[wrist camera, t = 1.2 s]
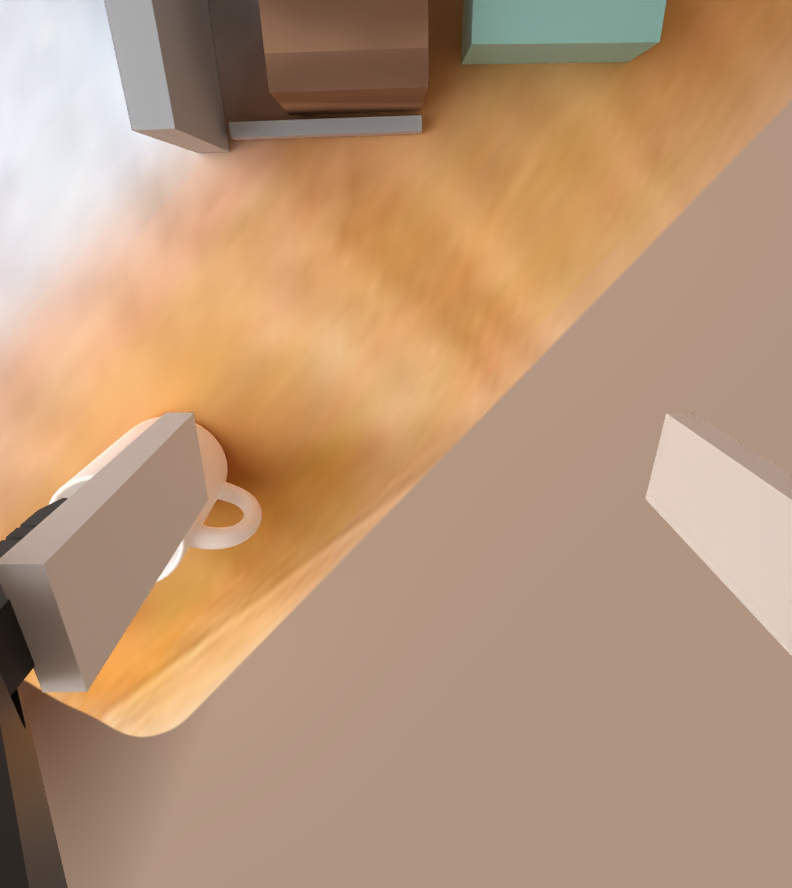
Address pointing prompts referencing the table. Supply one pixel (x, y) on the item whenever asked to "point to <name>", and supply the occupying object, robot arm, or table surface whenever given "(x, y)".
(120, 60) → the wall
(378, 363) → the table surface
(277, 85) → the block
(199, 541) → the mug
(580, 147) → the table surface
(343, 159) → the table surface
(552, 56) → the peg
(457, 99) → the table surface
